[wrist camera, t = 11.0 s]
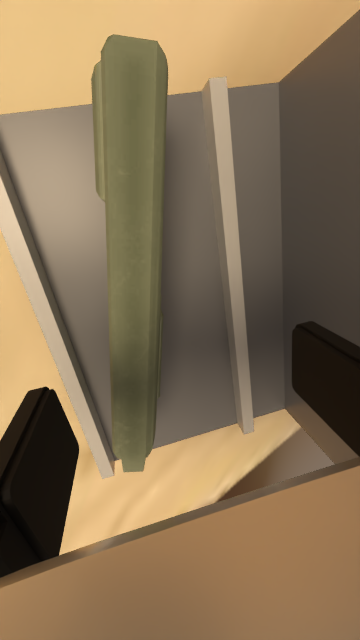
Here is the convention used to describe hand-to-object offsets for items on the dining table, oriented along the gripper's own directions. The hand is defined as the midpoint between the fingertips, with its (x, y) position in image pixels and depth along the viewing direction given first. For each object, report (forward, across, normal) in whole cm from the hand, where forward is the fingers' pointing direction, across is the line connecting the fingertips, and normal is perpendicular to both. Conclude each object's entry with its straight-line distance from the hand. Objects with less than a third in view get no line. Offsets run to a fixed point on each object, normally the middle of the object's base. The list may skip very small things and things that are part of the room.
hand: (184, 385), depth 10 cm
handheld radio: (+10, +2, 0) cm, 11 cm away
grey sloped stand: (+11, -2, +1) cm, 11 cm away
